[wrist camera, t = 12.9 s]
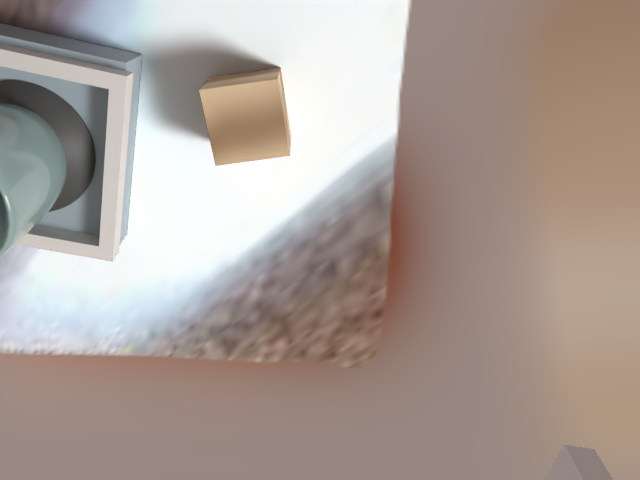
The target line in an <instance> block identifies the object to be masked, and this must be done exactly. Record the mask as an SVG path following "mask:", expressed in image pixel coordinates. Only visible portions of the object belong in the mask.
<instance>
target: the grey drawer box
mask: <svg viewBox="0 0 640 480" xmlns="http://www.w3.org/2000/svg"><path fill="white" fill-rule="evenodd" d="M141 65H142V54H137V53H133V52H128V51H124V50H119V49H115V48H111V47H106V46H102V45H97V44H93V43H88V42H84V41H79V40H75V39H70V38H66V37H61V36H57V35H52V34H48V33H43V32H39V31H34V30H30V29H25V28H21V27H16V26H12V25H7V24H3V23H0V103H8V104H14V105H18V106H21V107H25V108H28V109H30V110H32V111H34V112H35V113H37V114H39V115H40V116H41V117H43V118H44V119H45V120H46V121H47V122H48V123H49V124H50V125H51V126H52V128H53V129H54V130H55V132H56V133H57V135H58V137H59V138H60V140H61V143H62V145H63V148H64V150H65V155H66V159H67V175H66V180H65V185H64V187H63V189H62V191H61V194H60V196H59V198H58V199H57V201H56V203H55V204H54V205H53V206H52V208H51V209H50V210H49V211H48V212H47V213H46V215H45V216H44V217H43V218H42V219H41V220H40V221H39V222H38V223H37V224H36V225H35V226H34V227H33V228H32V229H31V230H30V231H29V232H28V233H27V234H26V235H25V236H24V237H23V238H22V239H21V240H20V241H19V242H18V243H17V245H22V246H28V247H33V248H39V249H45V250H50V251H56V252H62V253H67V254H73V255H78V256H84V257H90V258H95V259H101V260H107V261H112V262H113V260H114V259H115V257H116V256H117V254H118V253H119V246H120V244H121V242H122V241H123V239H124V238H125V236H126V235H127V228H128V217H129V205H130V193H131V182H132V170H133V159H134V147H135V135H136V124H137V112H138V100H139V89H140V77H141Z"/></svg>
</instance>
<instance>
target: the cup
mask: <svg viewBox="0 0 640 480" xmlns="http://www.w3.org/2000/svg"><path fill="white" fill-rule="evenodd" d="M66 175H67V159H66V155H65V150H64V148H63V145H62V143H61V140H60V138H59V137H58V135H57V133H56V132H55V130H54V129H53V128H52V126H51V125H50V124H49V123H48V122H47V121H46V120H45V119H44V118H43V117H41V116H40V115H39V114H37V113H35V112H34V111H32V110H30V109H28V108H25V107H21V106H18V105H14V104H8V103H0V257H1V256H2V255H4V254H5V253H7V252H8V251H9V250H10V249H11V248H12V247H13V246H15V245H16V244H17V243H18V242H19V241H20V240H21V239H22V238H23V237H24V236H25V235H26V234H27V233H28V232H29V231H30V230H31V229H32V228H33V227H34V226H35V225H36V224H37V223H38V222H39V221H40V220H41V219H42V218H43V217H44V216H45V215H46V213H47V212H48V211H49V210H50V209H51V208H52V206H53V205H54V204H55V203H56V201H57V199H58V198H59V196H60V194H61V191H62V189H63V187H64V185H65V180H66Z"/></svg>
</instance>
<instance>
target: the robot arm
mask: <svg viewBox="0 0 640 480" xmlns="http://www.w3.org/2000/svg"><path fill="white" fill-rule="evenodd" d="M545 480H613V478H612V477H611V475H610V474H609V472H608V470H607V469H606V467H605V466H604V464H603V462H602V461H601V459H600V457H599V456H598V454H597V452H596V451H595V450H594V449H589V448H582V447H576V446H570V445H563V447H562V449H561V451H560V452H559V454H558V456H557V458H556V460H555V462H554V463H553V465H552V467H551V469H550V471H549V473H548V474H547V477H546V478H545Z"/></svg>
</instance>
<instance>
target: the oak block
mask: <svg viewBox="0 0 640 480" xmlns="http://www.w3.org/2000/svg"><path fill="white" fill-rule="evenodd" d="M199 93H200V97H201V102H202V106H203V111H204V115H205V120H206V124H207V129H208V133H209V138H210V142H211V147H212V152H213V156H214V161H215V165H216V166H217V165H224V164H232V163H239V162H246V161H254V160H261V159H269V158H276V157H283V156H290V145H291V133H290V126H289V120H288V113H287V107H286V101H285V94H284V88H283V81H282V75H281V69H280V67H279V68H272V69H265V70H258V71H251V72H243V73H236V74H229V75H222V76H215V77H210V78H209V79H208V80H207V82H206V83H205V84H204V85H203V86H202V87H201V88H200V89H199Z"/></svg>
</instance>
